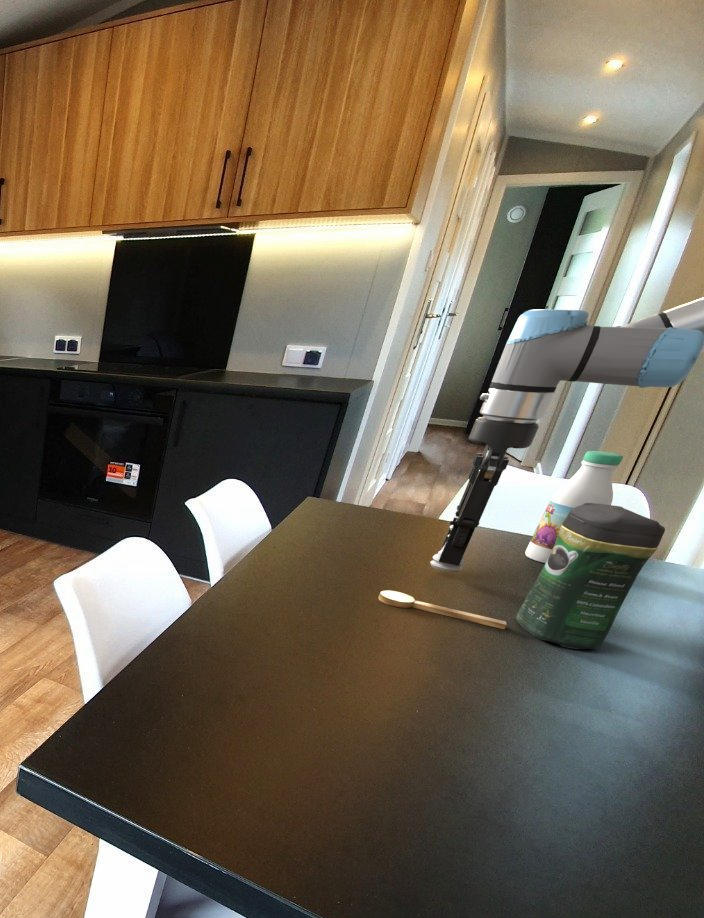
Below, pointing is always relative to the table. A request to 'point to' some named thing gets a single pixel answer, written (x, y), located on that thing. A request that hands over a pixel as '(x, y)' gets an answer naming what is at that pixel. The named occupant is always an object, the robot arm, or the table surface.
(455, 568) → the rook chess piece
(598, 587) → the coffee jar
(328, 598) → the table surface
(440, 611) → the wooden spoon
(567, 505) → the milk bottle
